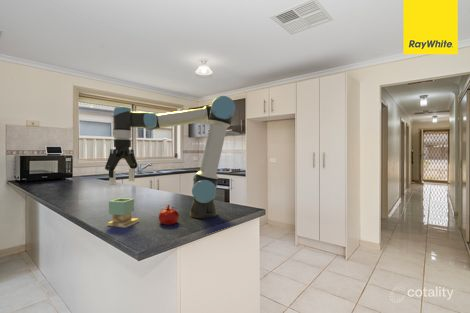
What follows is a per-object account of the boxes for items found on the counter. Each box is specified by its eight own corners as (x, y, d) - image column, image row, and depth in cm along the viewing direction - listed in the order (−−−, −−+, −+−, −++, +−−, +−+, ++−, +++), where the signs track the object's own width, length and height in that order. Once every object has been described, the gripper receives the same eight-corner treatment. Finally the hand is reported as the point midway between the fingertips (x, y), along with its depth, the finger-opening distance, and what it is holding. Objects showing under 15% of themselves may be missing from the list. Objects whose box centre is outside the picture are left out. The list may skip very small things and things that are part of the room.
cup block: (134, 211, 123) (134, 198, 123) (123, 215, 115) (123, 202, 115) (120, 210, 125) (120, 198, 125) (108, 214, 117) (108, 201, 117)
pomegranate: (162, 228, 116) (162, 208, 115) (155, 222, 124) (155, 204, 123) (182, 224, 121) (182, 205, 121) (174, 219, 129) (174, 201, 129)
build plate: (138, 221, 124) (139, 210, 124) (125, 227, 114) (125, 215, 114) (121, 219, 127) (121, 209, 126) (107, 225, 117) (107, 214, 117)
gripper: (132, 140, 132) (132, 179, 133) (95, 138, 108) (96, 186, 108) (144, 140, 130) (144, 180, 131) (110, 138, 106) (110, 186, 107)
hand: (122, 182), depth 120 cm, fingers open, 13 cm apart
